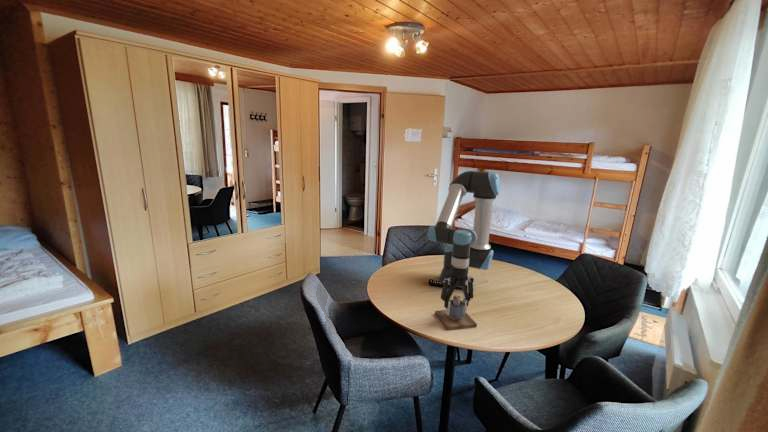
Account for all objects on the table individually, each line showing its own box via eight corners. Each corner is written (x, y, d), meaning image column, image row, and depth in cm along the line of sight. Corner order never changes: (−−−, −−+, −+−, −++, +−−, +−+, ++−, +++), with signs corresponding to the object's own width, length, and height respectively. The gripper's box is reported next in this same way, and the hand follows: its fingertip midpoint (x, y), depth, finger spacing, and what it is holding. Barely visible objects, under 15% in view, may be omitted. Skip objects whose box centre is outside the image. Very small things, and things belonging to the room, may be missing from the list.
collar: (459, 308, 153) (460, 298, 152) (466, 316, 146) (467, 306, 145) (444, 310, 151) (445, 300, 150) (451, 318, 144) (452, 307, 143)
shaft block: (462, 311, 158) (464, 289, 155) (476, 327, 144) (479, 303, 142) (434, 313, 154) (436, 291, 152) (447, 330, 141) (449, 305, 139)
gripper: (476, 261, 149) (472, 307, 154) (434, 263, 145) (431, 311, 150) (485, 267, 142) (480, 315, 147) (441, 270, 138) (437, 319, 142)
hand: (455, 313), depth 148 cm, fingers closed on collar, 7 cm apart
